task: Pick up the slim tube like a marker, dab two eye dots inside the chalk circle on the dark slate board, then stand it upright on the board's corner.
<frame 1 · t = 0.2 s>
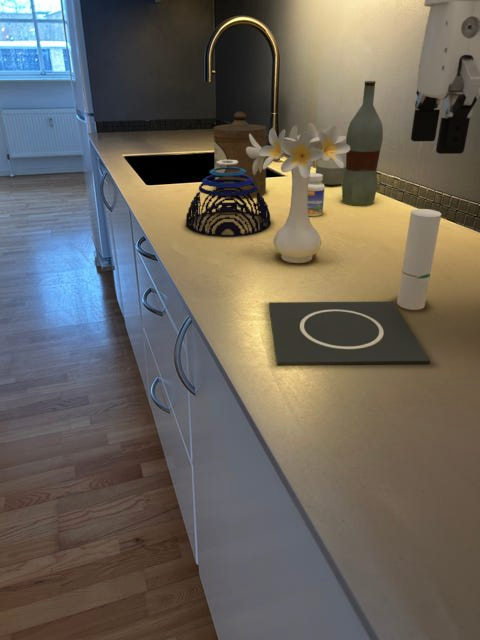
hand: (435, 146, 66), 25 cm above the worktop, tool pointing down, fingers open, 9 cm apart
wooden container: (240, 193, 150), on the worktop
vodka: (357, 202, 140), on the worktop
smart speaker: (329, 184, 159), on the worktop
decorative bowl: (229, 224, 123), on the worktop
flower vase: (293, 259, 101), on the worktop
slate board: (340, 331, 75), on the worktop
pill bottle: (311, 214, 130), on the worktop
tube: (410, 305, 83), on the worktop
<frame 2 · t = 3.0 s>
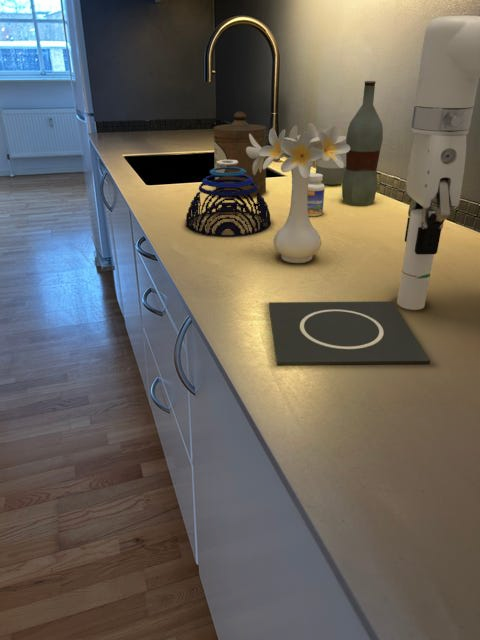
hand: (420, 246, 78), 10 cm above the worktop, tool pointing down, fingers closed on tube, 4 cm apart
tube: (410, 305, 83), on the worktop, touching gripper
everything else where it was.
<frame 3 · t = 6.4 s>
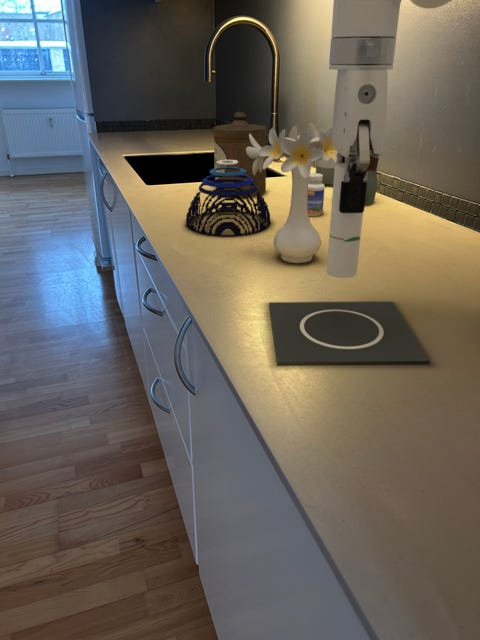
hand: (347, 205, 69), 18 cm above the worktop, tool pointing down, fingers closed on tube, 4 cm apart
tube: (341, 273, 74), point 8 cm above the worktop, touching gripper
everything else where it was.
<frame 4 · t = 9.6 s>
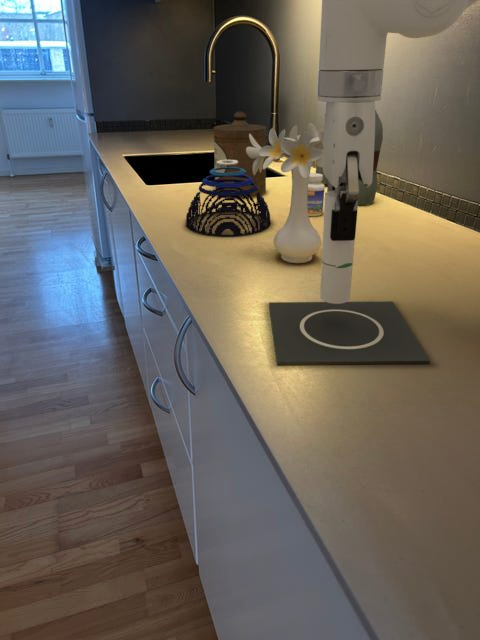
hand: (339, 232, 70), 14 cm above the worktop, tool pointing down, fingers closed on tube, 4 cm apart
tube: (335, 298, 74), point 4 cm above the worktop, touching gripper
everything else where it was.
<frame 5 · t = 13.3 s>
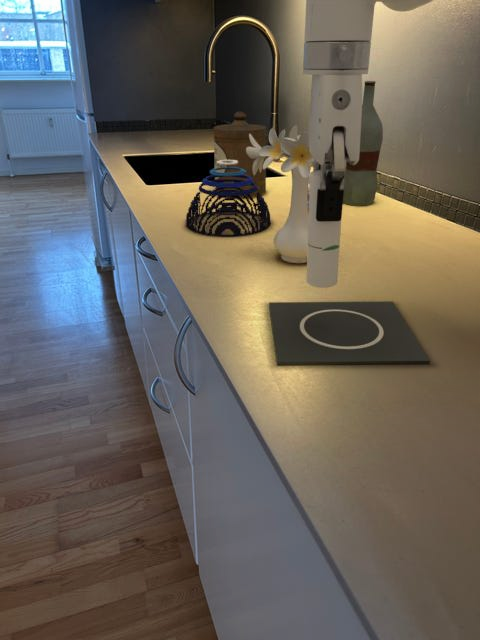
hand: (325, 213, 67), 17 cm above the worktop, tool pointing down, fingers closed on tube, 4 cm apart
tube: (321, 282, 72), point 7 cm above the worktop, touching gripper
everything else where it was.
when the fingers open (10 cm above the worktop, at t = 16.4 s): tube stays where it is, resting on slate board.
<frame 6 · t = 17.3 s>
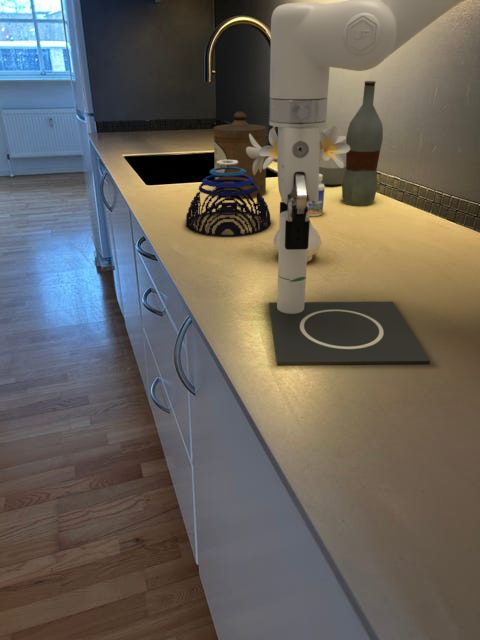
hand: (292, 237, 75), 12 cm above the worktop, tool pointing down, fingers open, 9 cm apart
tube: (290, 308, 81), resting on slate board
everything else where it was.
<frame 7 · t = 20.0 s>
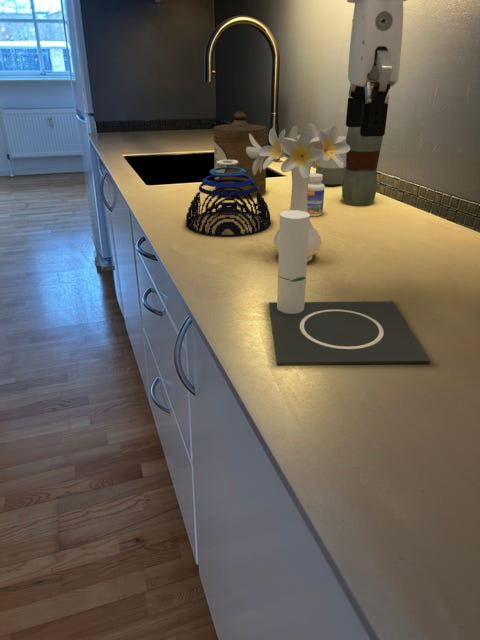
hand: (363, 131, 72), 26 cm above the worktop, tool pointing down, fingers open, 9 cm apart
nothing on the worktop moved.
at the end: tube 0.3 cm from the target spot, on the worktop; tube tilted 0°; the gripper is holding nothing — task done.
